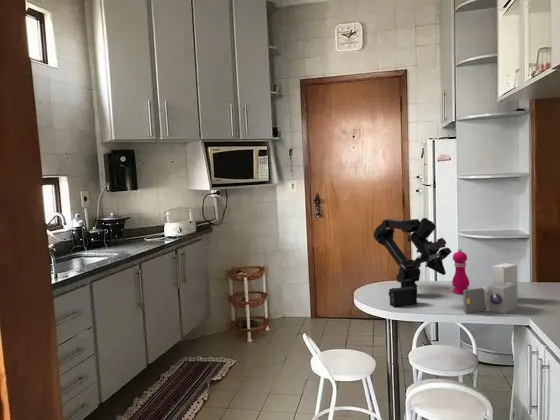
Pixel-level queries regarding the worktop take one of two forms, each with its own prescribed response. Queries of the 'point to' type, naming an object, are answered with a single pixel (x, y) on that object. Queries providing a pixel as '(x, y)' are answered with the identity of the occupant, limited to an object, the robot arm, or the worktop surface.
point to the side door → (475, 300)
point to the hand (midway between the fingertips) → (444, 274)
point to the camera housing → (502, 297)
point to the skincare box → (505, 274)
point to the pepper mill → (460, 272)
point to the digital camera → (403, 296)
